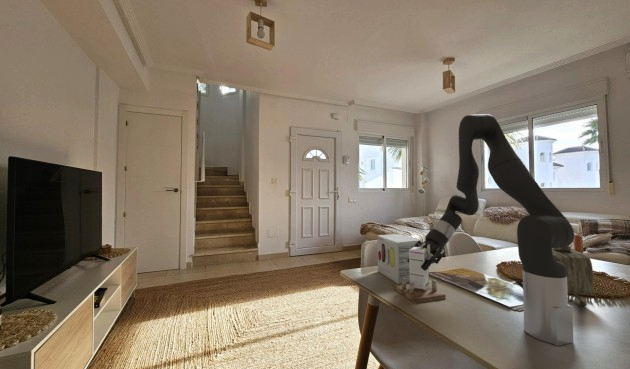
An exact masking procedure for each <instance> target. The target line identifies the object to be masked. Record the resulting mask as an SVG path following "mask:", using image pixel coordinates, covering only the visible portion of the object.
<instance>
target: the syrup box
mask: <svg viewBox="0 0 630 369" xmlns="http://www.w3.org/2000/svg"><path fill="white" fill-rule="evenodd" d="M427 257H428V255H427V248H422V247H413V248H411V249H410V250H409V266H410V282H412V283H414V287H415V288H419V289H424V290H425V289H426V288H427V287H428V286H430V277H429V276H430V274H429V273H430V272H429V268H428V269H427V270H426V271H424V270H423V269H422V268H421V265H422V264H423V263H424V262H425V260H426V259H427ZM427 260H428V259H427ZM410 282H409V283H410Z"/></svg>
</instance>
